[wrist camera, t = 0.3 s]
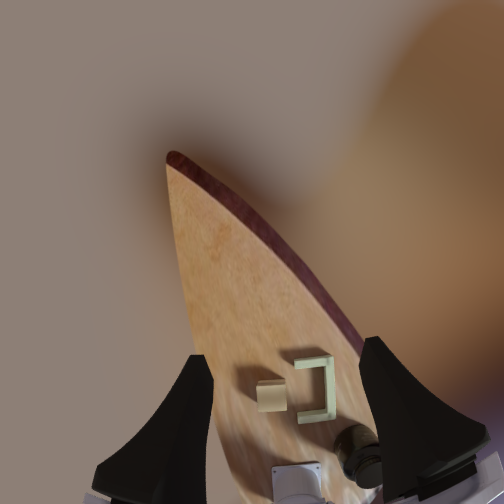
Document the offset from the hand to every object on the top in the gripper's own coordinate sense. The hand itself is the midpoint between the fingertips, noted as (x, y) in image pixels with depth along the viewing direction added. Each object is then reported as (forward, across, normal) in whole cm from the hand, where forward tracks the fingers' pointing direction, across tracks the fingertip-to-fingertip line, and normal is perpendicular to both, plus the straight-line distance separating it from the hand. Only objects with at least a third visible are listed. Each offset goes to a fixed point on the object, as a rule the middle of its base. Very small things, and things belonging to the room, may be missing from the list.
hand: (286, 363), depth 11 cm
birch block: (+15, +2, +27) cm, 31 cm away
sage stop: (+15, -4, +27) cm, 31 cm away
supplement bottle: (+7, -11, +35) cm, 37 cm away
